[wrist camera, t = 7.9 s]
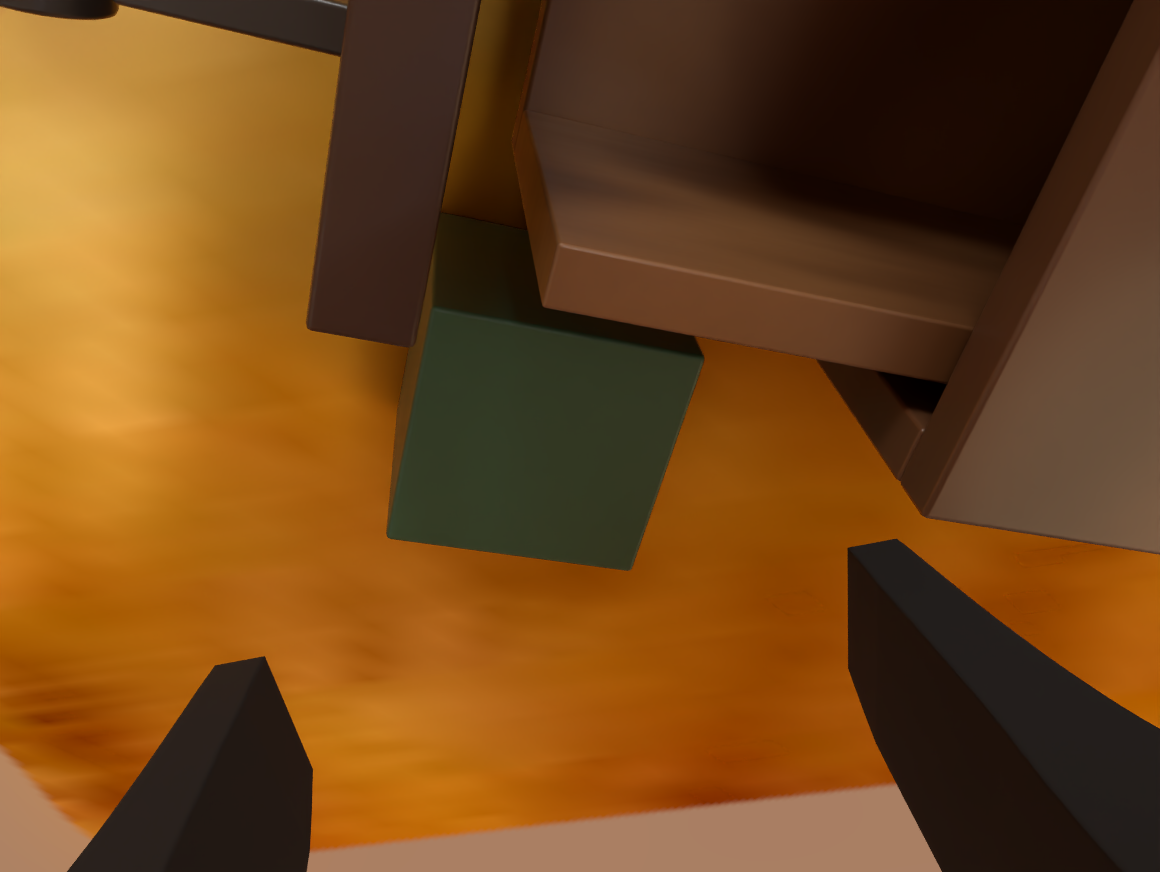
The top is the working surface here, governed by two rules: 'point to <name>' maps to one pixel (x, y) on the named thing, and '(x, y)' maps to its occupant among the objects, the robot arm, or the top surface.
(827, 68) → the drawer
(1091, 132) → the cabinet
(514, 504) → the block
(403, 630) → the top surface
